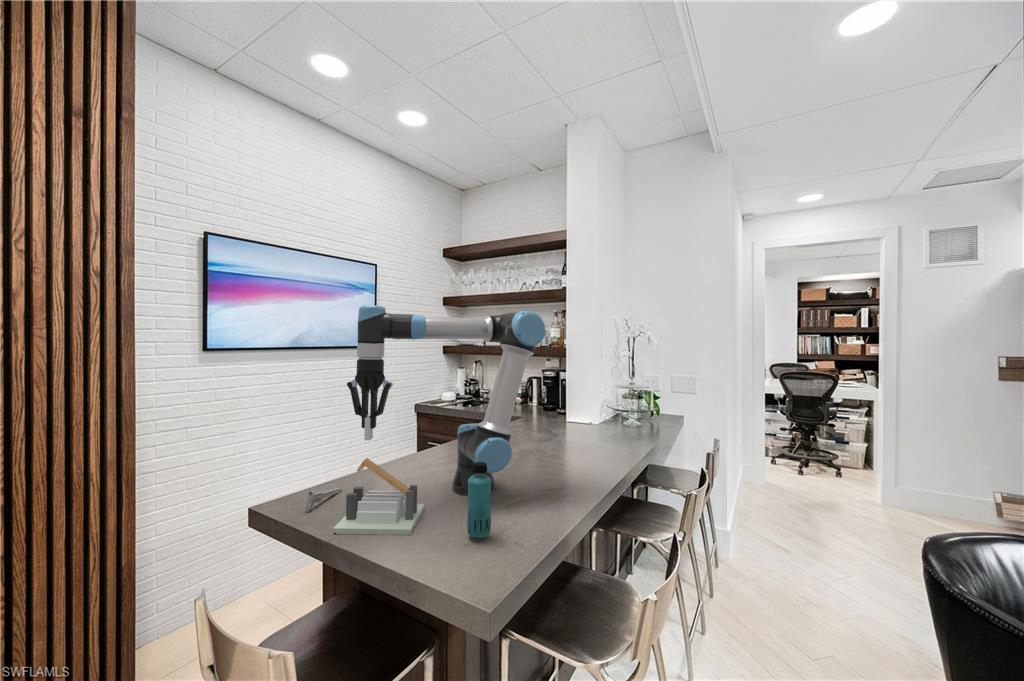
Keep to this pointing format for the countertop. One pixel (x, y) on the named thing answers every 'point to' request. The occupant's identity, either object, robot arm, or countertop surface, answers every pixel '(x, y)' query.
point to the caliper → (318, 497)
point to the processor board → (380, 527)
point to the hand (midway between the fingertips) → (368, 439)
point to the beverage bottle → (479, 502)
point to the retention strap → (384, 475)
